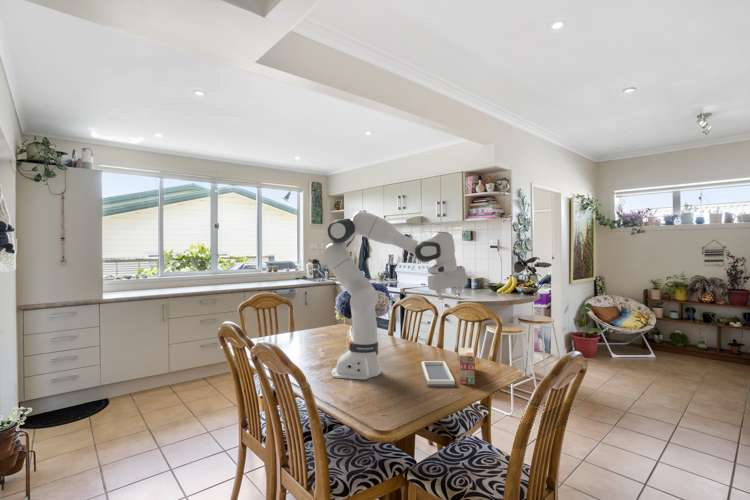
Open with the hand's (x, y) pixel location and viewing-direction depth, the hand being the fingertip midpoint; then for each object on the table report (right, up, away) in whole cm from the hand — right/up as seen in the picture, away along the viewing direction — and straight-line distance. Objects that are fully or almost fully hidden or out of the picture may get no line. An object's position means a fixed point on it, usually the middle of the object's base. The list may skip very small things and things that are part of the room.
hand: (449, 298), depth 165 cm
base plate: (-6, -34, -2) cm, 35 cm away
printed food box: (+7, -35, -2) cm, 35 cm away
